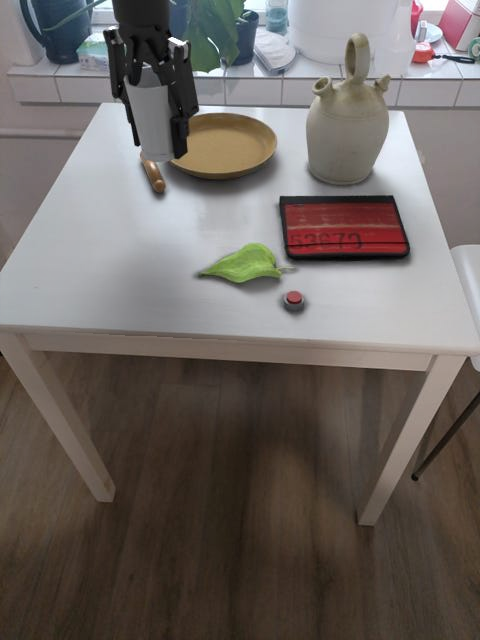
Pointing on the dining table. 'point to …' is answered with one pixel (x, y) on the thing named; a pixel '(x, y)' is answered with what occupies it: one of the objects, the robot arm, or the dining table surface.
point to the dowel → (153, 174)
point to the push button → (293, 300)
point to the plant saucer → (226, 146)
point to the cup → (152, 116)
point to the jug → (347, 120)
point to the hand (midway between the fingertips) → (161, 148)
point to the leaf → (247, 264)
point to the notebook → (342, 228)
